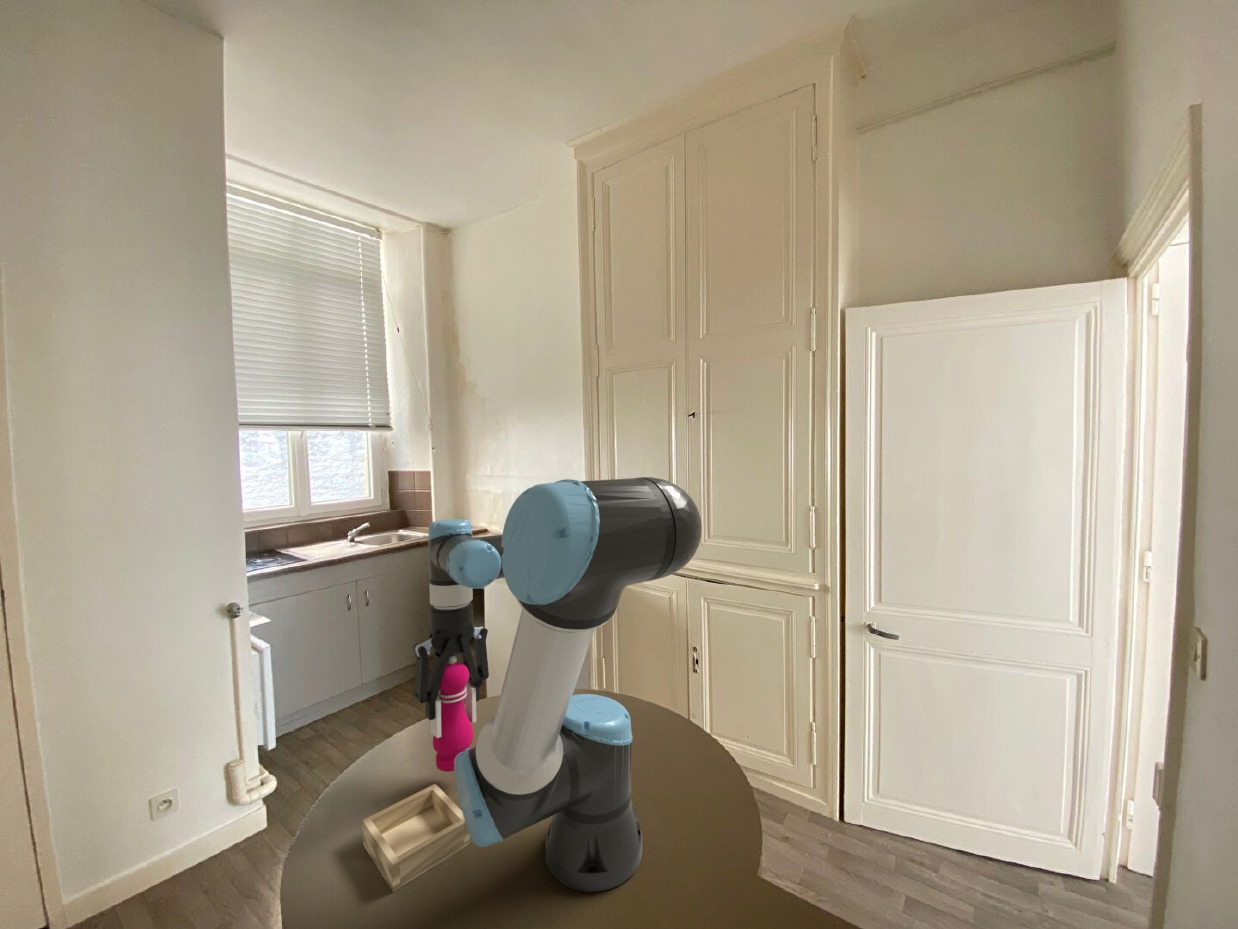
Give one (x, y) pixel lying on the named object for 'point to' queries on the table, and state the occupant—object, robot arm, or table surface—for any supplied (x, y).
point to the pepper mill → (453, 715)
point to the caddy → (414, 835)
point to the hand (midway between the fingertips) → (453, 726)
